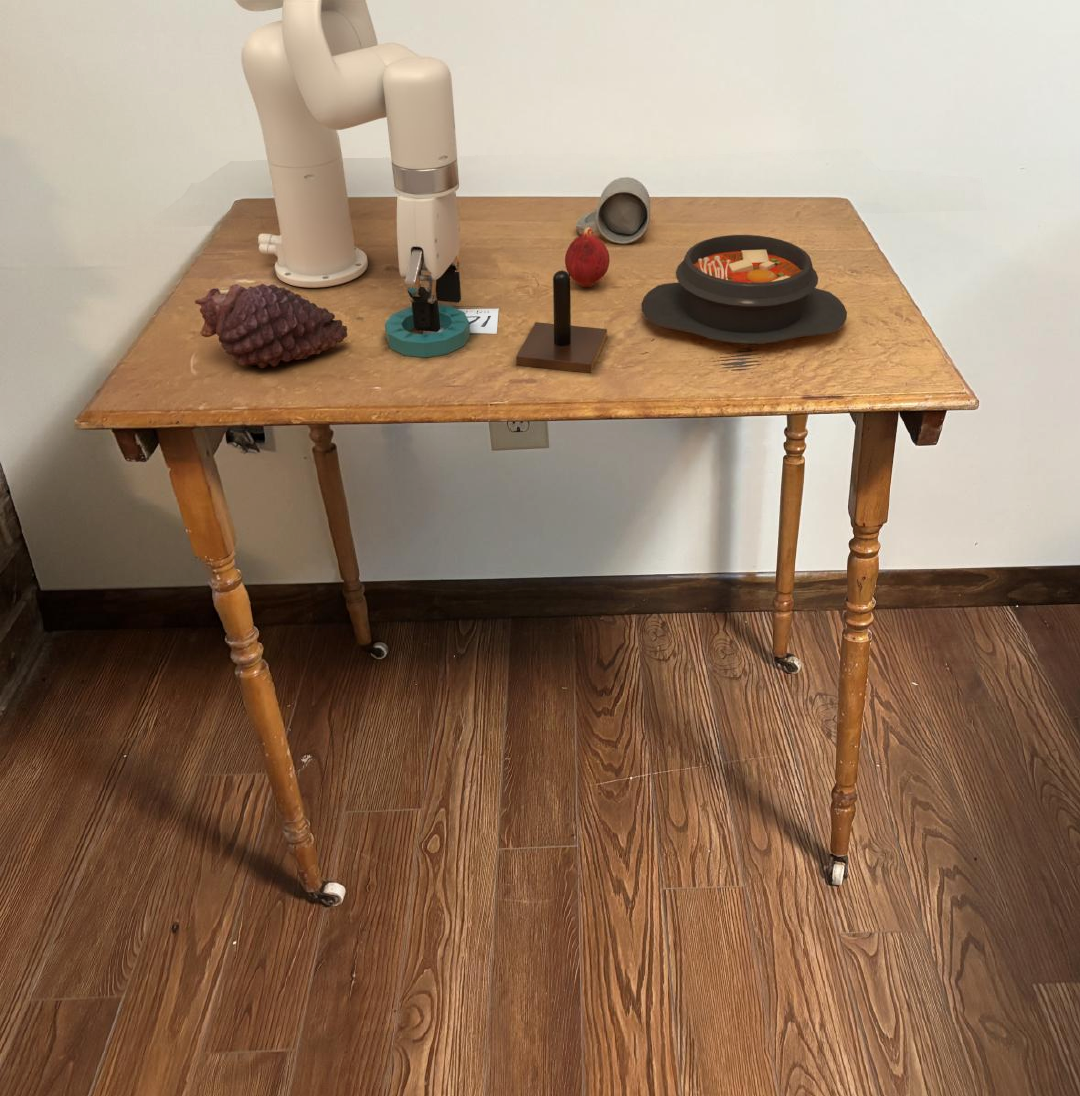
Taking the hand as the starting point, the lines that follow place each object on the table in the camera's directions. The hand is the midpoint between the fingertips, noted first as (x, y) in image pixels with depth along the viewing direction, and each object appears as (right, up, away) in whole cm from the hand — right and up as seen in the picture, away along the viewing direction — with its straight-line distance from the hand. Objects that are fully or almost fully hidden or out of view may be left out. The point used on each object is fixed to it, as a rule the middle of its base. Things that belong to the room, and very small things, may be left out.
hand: (438, 314), depth 137 cm
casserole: (+38, -1, -1) cm, 38 cm away
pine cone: (-19, -7, -6) cm, 21 cm away
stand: (+15, -6, -6) cm, 17 cm away
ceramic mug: (+23, +16, +22) cm, 36 cm away
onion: (+19, +5, +8) cm, 21 cm away
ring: (-1, -3, -2) cm, 4 cm away
